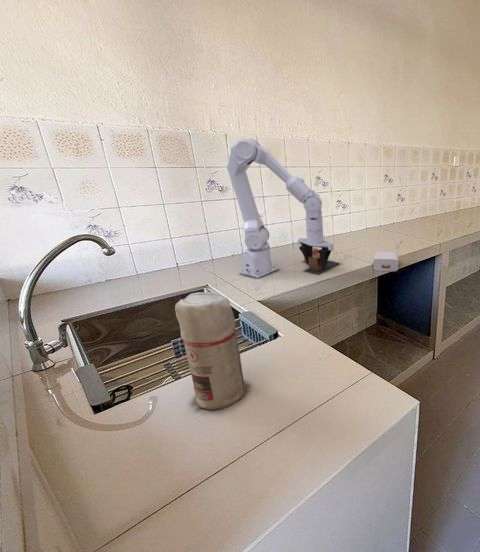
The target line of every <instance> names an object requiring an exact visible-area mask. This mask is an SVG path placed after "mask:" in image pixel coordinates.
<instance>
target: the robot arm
mask: <svg viewBox="0 0 480 552" xmlns="http://www.w3.org/2000/svg"><path fill="white" fill-rule="evenodd" d="M229 154H230V155H229V158H228V162H227V165H226V168H227V169H226V170H227V173H228V176H229V179H230V181H231V185H232V188H233V191H234V194H235V197H236V200H237V202H238V207H239V210H240V213H241V216H242V219H243V222H244V225H243V231H244V244H245V246H246V248H247V249H246V250H245V251H243V252H242V253H241V254H240V262H241V269H242V271H241V273H240V274H242V275H245V276H249V277H253V278H257V279H258V278H261V277H263V276H266V275H268V274H271V273H273V272H276V271H278V268H277V267H273V266H272V257H271V247H270V244H269V243H268V241H269V239H270V232H269V230H268V229H267V228H266V227H265V224H264V221H263V219H261V217H260V214H259V210H258V207H257V204H256V201H255V200H256V199H255V197H254V194H253V191H252V187H251V184H250V180H249V178H248V174H247V170H248V169H249V167H251V166H252V164H253V162H254V163H256V164H260V165H263V166H266V167H267V168H268V169H269V170H270V171H271V172H272V173H273V174H274V175H276V176H277V178H279V179H280V180H281V181H283V182H284V183H285V190H286V191H288V193H290V194H291V195H292V196H293V197H294V198H295V199H296V200H297V201H298V202H299V203H301V204H303V208H304V210H305V231H306V232H305V233H306V237H304V238H303V237H300V238H297V245H300V246H299V247H298V249H299V251H300V252H301V253H302V255H303V259H304V258H305V260H306V262H305V263H306V265H307V266H309V261H308V257H309V256H312V249H313V248H314V247H316V248H318V253H319V255H320V260H321V268H325V267H326V266H327V261H329V258H330V255H331V253H332V251H333V250H334V249H335V244H334V243H333V242H332V243H331V242H328V241H326V240H325V239H324V224H323V223H324V219H323V211H322V208H323V200H322V198H321V196H320V195H319V194H318V193H316V191H315V190H314V189H311V187H310V186H308V184H306V183H305V179H304V178H303V177H301V178H300V176H293V175H292V174H291V173H290V172H289V171H288V170H287V169H286V168H285V167H284V166H283V165H282V164H281V163H280V162H279V161H278V159H276V157H274V155H273V154H272V153H271V152H270V151H269V150H268V149H267V148H266V147H264V146H263V145H261V144H260V142H258V141H257V140H255V139H252V138H248V139H247V138H239V139H237V140H236V141H235V142H234V144H232V146H231V147H230V153H229Z"/></svg>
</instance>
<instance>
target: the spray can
mask: <svg viewBox="0 0 480 552" xmlns="http://www.w3.org/2000/svg"><path fill="white" fill-rule="evenodd" d="M174 310H175V317H176V319H177V321H178V324H179V329H180V337H181V339H182V341H183V345H184V349H185V354H186V358H187V362H188V367H189V370H190V375H191V381H192V382H193V389H194V393H195V397H196V398H195V404H196V405H197V406H198V407H199V408H200V409H201V408H202V409H206V410H219V409H222V408H226V407H229V406H231V405H233V404H234V403H236V402H237V401H238V400H240V399H241V398H243V397H244V396H245V394H246V391H247V386H246V384H245V379H244V372H243V366H242V362H241V361H242V359H241V353H240V348H239V342H238V335H237V329H236V319H235V316H234V312H233V309H232V305H231V301H230V300H229V297H227V296H225V295H221V294H220V293H218V292H214V291H213V292H211V291H208V292H207V291H206V292H205V291H203V292H202V291H198V292H193V293H190V294H188V295H187V296H186V297H185V298H181V299H180V300H179V301H177V303H175V305H174Z"/></svg>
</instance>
